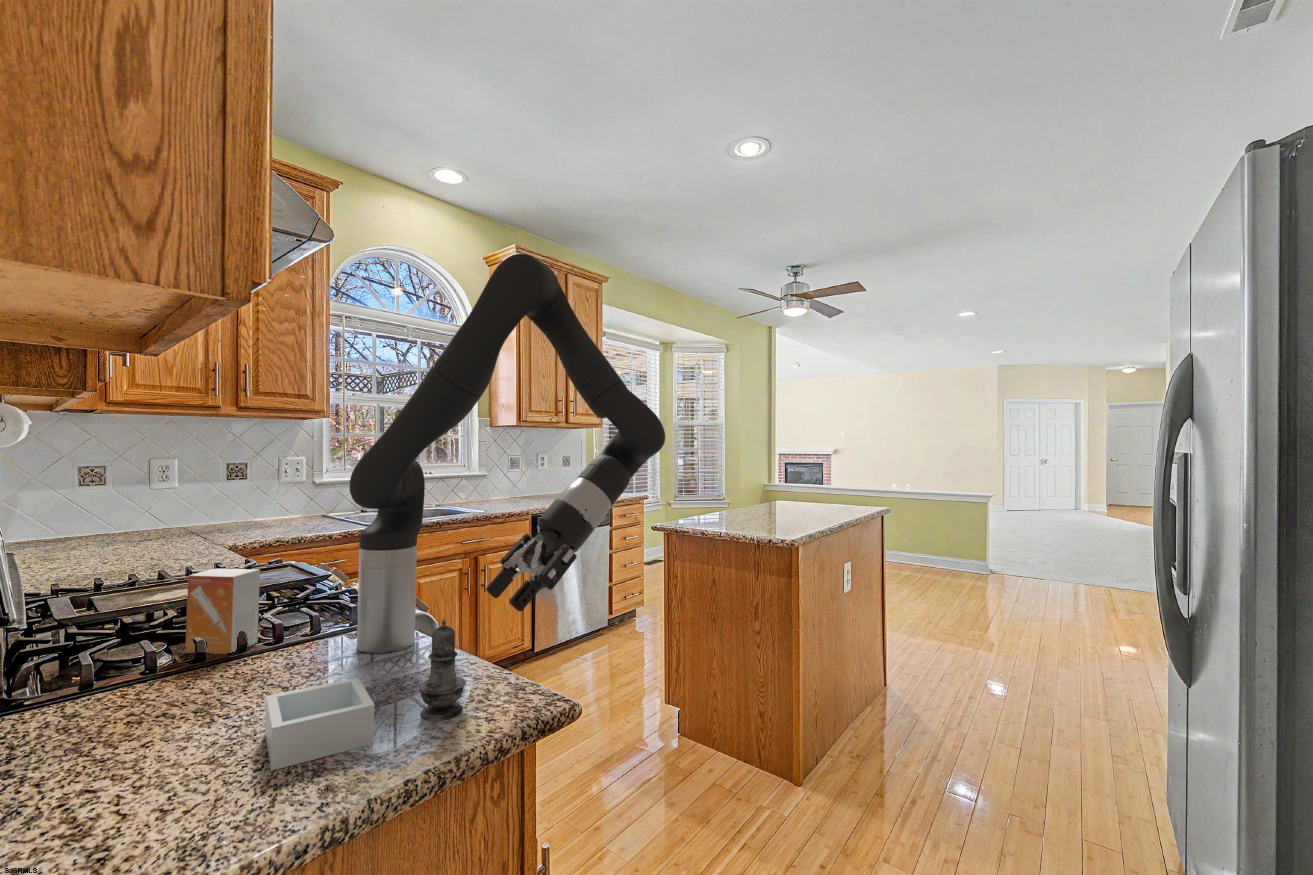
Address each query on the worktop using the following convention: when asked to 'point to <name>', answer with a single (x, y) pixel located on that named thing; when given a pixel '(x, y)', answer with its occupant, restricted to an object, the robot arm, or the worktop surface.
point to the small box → (222, 608)
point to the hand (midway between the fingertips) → (501, 600)
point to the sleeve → (318, 722)
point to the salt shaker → (442, 678)
